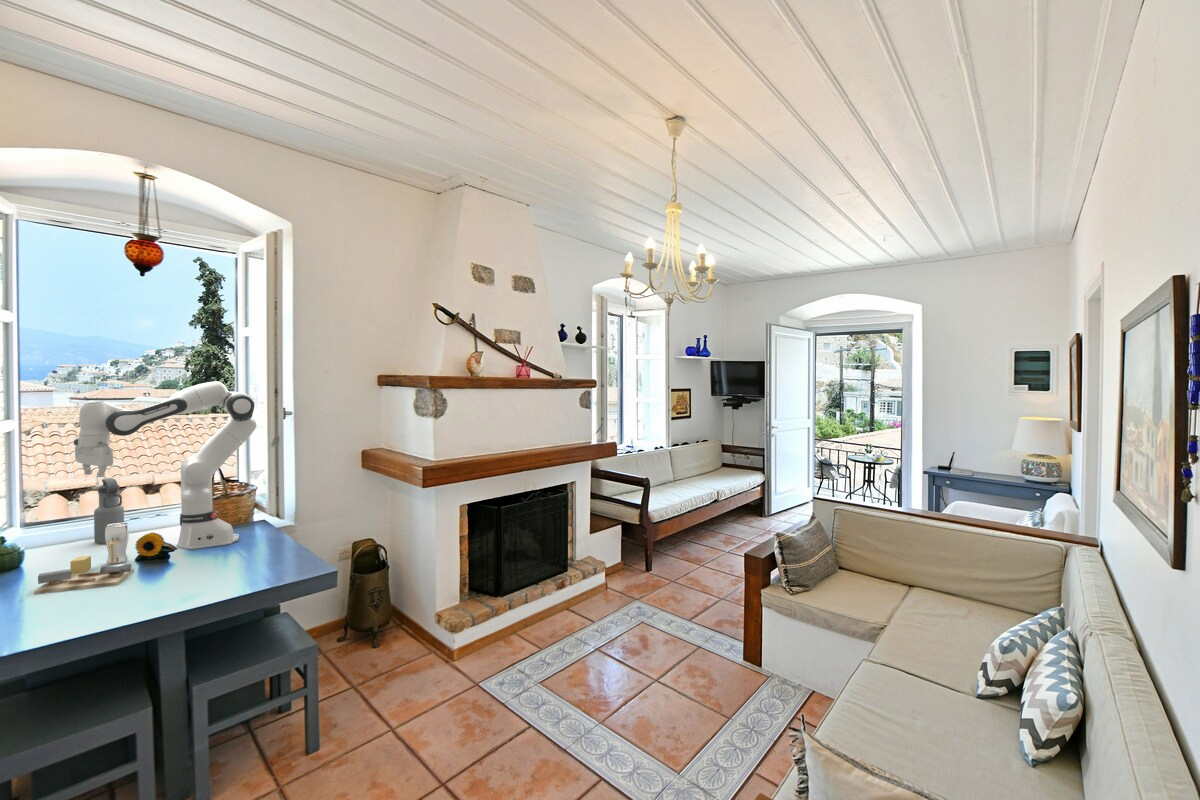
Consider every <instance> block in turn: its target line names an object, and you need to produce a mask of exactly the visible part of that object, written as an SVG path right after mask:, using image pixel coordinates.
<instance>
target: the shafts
mask: <svg viewBox="0 0 1200 800" xmlns="http://www.w3.org/2000/svg"><path fill="white" fill-rule="evenodd" d="M131 569H132V563H120V564H109V565H103V566H101V567H100V568H99V572H100V574H101V575H105V574H114V573H124V572H130V571H131ZM71 578H72V569H71V568H69V569H63V570H56V571H49V572H48V571H47V572H41V573H39V574H38V575H37V584H38V585H40V584H42V585H43V584H45V583H48V582H54V581H61V580H67V579H71Z"/></svg>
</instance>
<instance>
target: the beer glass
mask: <svg viewBox="0 0 1200 800" xmlns="http://www.w3.org/2000/svg"><path fill="white" fill-rule="evenodd" d="M129 531H130V530H129V523H127V522H124V523H114V524H110V525H107V526H106V530H105V541H106V544H105V545H106V548H107V549H106V550H107V554H108V555H107V560H106V564H108V565H119V564H124V563H126V562H128V556H127V548H128V542H129V537H130V535H129V534H130V532H129Z"/></svg>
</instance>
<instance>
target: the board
mask: <svg viewBox="0 0 1200 800" xmlns="http://www.w3.org/2000/svg"><path fill="white" fill-rule="evenodd" d="M132 573H134V568H131V571H130V572H124V573H114V574H105V575H101V574H100V571H94V572H93V571H92V572H85V573H79V574H72V578H71V579H67V580H61V581H54V582H48V583H43V584H42V585H41V586H39V587H37V588H36V589H34V590H33V592H34V593H33V594H34V595H38V593H39V594H46V592H48V593H56V592H65V591H73V590H74V591H75V590H82V589H93V588H94V589H95V588H102V587H103V588H104V587H111V586H119V584H120V583H122V582H123V581H124V580H125V579H126V578H128V577H129V576H130V575H131V574H132Z"/></svg>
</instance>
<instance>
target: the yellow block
mask: <svg viewBox="0 0 1200 800" xmlns="http://www.w3.org/2000/svg"><path fill="white" fill-rule="evenodd" d="M70 569H72V574H81V573H88V571H90V570H91V569H92V556H91V555H86V556H85V555H84V556H77V557H75V558H74V559H72V560H71V561H70Z"/></svg>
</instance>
